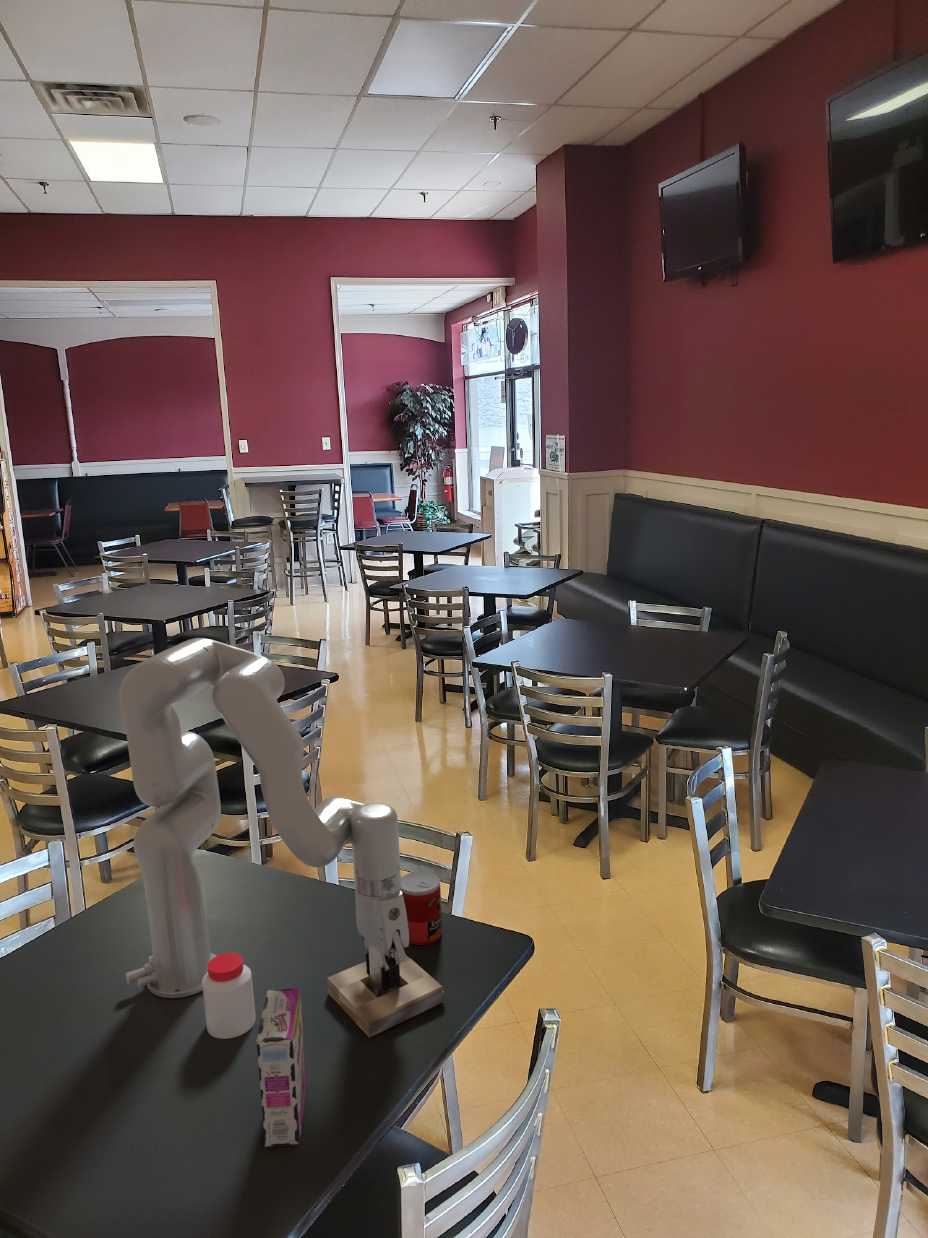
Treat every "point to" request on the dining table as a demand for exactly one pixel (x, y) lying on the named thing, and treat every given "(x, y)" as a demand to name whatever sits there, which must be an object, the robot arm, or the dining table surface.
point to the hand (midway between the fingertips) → (383, 978)
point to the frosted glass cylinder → (377, 971)
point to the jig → (384, 996)
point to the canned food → (422, 907)
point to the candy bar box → (282, 1067)
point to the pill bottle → (228, 996)
